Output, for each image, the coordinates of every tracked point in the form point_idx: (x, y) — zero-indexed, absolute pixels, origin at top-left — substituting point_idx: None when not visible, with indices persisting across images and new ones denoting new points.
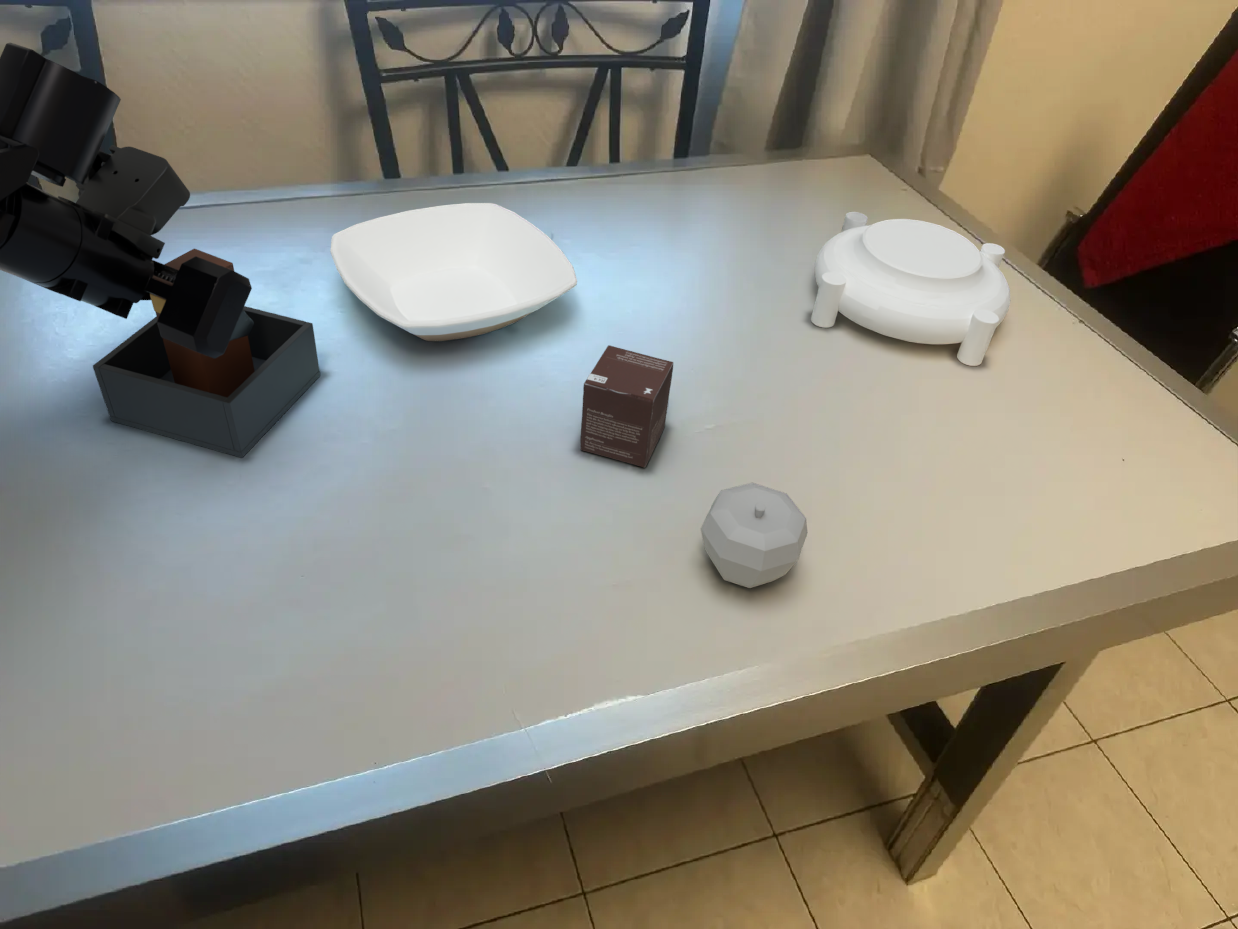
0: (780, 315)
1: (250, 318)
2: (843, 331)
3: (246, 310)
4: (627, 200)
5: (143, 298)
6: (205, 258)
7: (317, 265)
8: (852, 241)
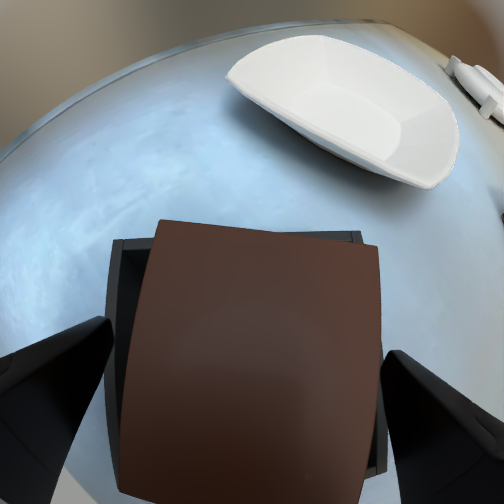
0: (472, 111)
1: (419, 363)
2: (491, 121)
3: None
4: (342, 36)
5: (94, 388)
6: (260, 269)
7: (192, 112)
8: (474, 74)
